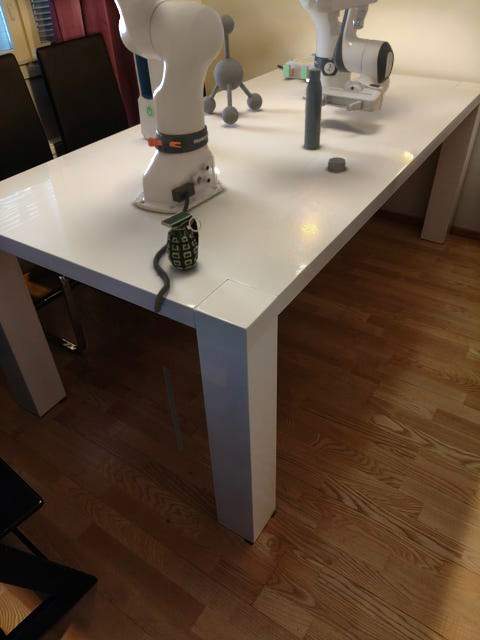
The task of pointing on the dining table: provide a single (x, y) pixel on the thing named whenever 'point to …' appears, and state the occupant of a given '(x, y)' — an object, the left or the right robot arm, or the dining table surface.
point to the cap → (336, 164)
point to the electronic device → (148, 92)
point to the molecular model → (229, 80)
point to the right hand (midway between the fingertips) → (334, 105)
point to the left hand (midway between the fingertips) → (347, 32)
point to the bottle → (313, 110)
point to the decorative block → (299, 67)
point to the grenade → (182, 240)
